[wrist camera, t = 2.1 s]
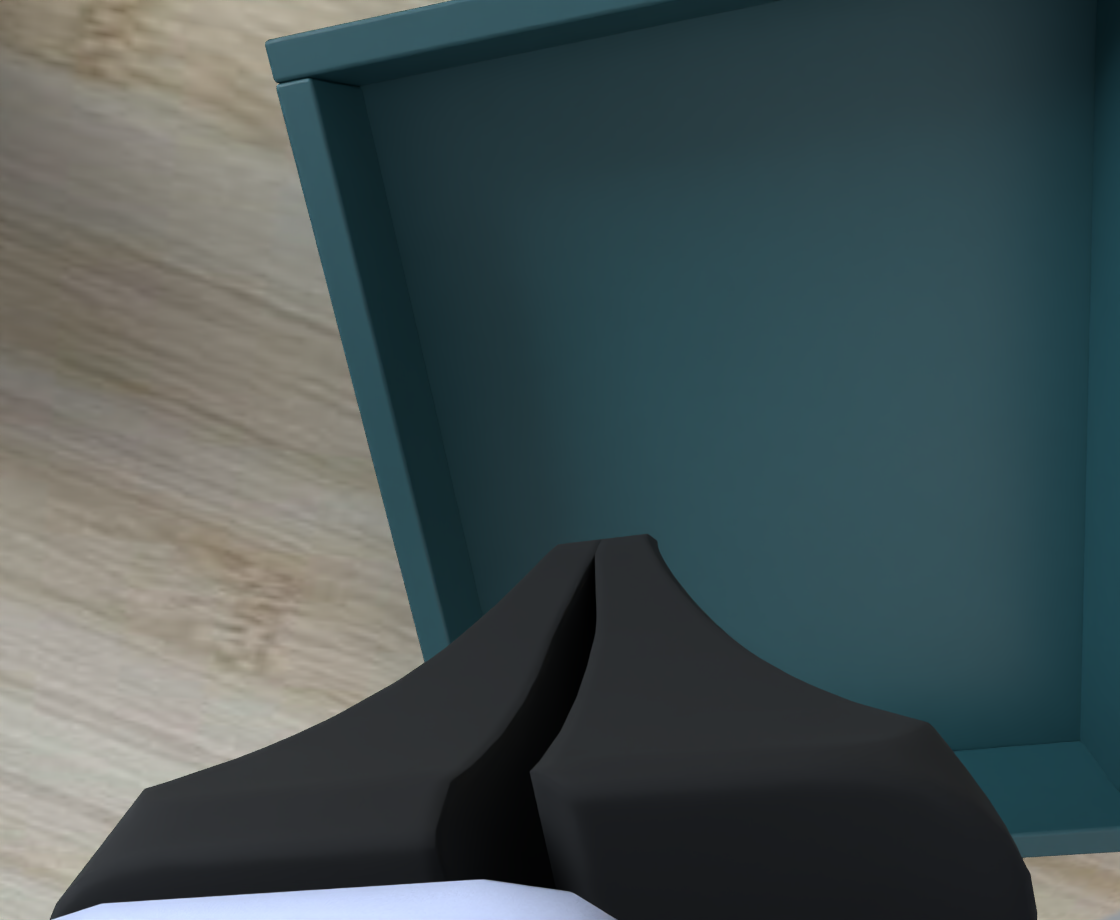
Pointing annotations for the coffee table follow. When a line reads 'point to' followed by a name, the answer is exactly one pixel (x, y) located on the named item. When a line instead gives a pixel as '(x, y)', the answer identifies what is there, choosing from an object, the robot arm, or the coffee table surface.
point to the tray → (756, 336)
